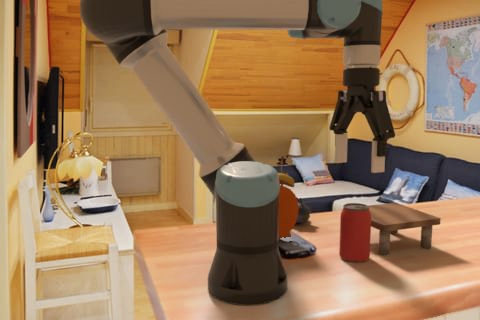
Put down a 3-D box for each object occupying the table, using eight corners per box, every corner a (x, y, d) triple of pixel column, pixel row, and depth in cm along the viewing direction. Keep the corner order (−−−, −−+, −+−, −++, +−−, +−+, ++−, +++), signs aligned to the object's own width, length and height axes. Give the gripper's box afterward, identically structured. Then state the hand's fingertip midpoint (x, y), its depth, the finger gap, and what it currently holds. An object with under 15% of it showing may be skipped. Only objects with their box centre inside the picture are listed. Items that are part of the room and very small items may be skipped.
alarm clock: (283, 233, 121) (284, 158, 118) (298, 240, 116) (300, 161, 113) (241, 243, 113) (240, 163, 110) (255, 250, 108) (255, 166, 105)
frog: (294, 230, 124) (295, 202, 122) (266, 220, 133) (266, 194, 132) (320, 224, 129) (321, 197, 128) (291, 215, 139) (292, 190, 138)
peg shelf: (382, 257, 103) (383, 225, 102) (342, 236, 118) (343, 208, 117) (438, 248, 109) (440, 218, 108) (394, 229, 124) (395, 202, 123)
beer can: (370, 264, 99) (372, 210, 98) (339, 262, 101) (341, 209, 99) (368, 254, 106) (370, 203, 104) (339, 252, 107) (340, 201, 105)
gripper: (417, 64, 87) (411, 175, 90) (343, 69, 110) (341, 158, 113) (384, 64, 84) (379, 178, 87) (316, 69, 107) (314, 159, 110)
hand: (358, 167), depth 100 cm, fingers open, 13 cm apart
